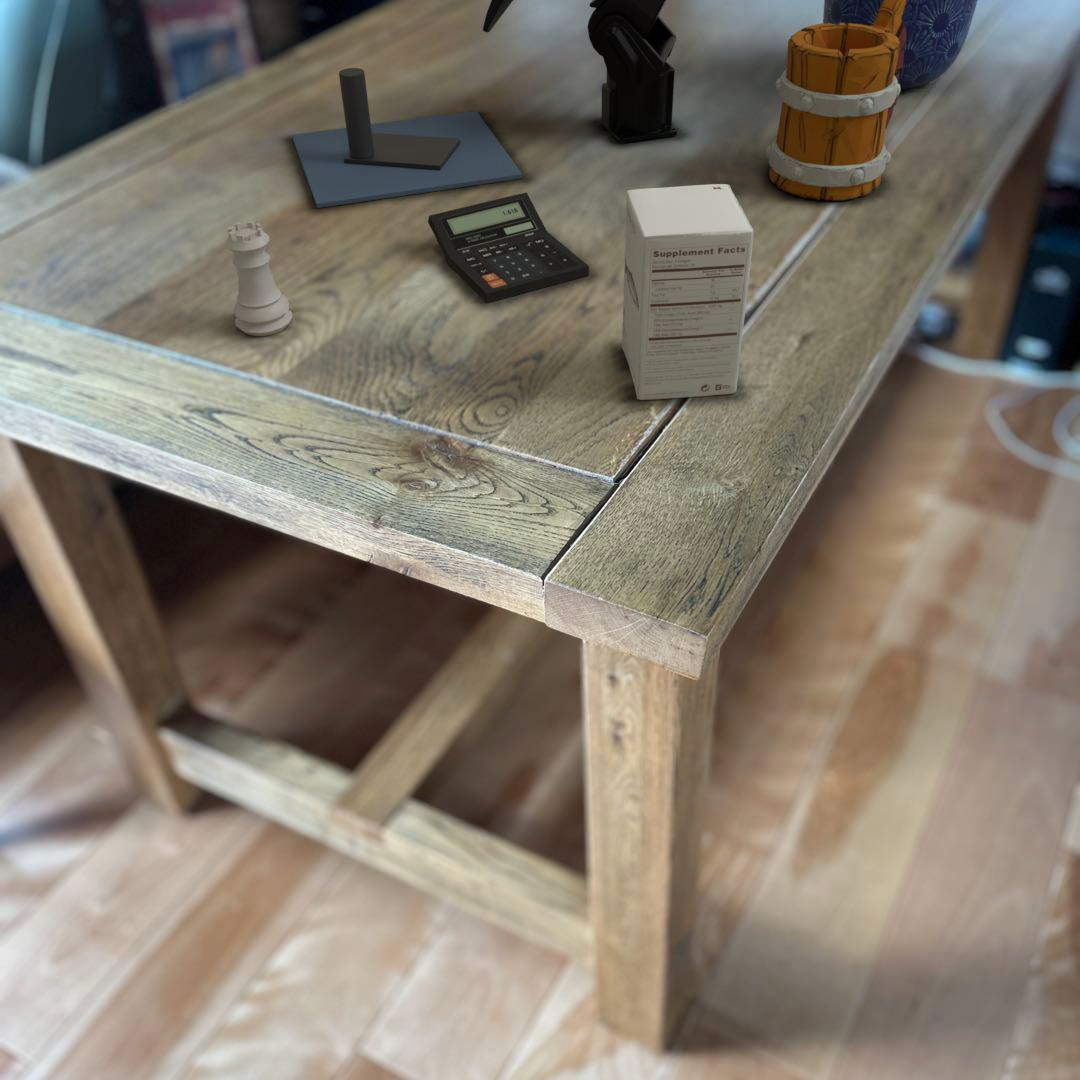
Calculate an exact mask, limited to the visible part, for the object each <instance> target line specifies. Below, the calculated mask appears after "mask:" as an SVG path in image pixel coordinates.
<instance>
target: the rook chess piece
mask: <svg viewBox="0 0 1080 1080" xmlns="http://www.w3.org/2000/svg"><path fill="white" fill-rule="evenodd" d="M246 225H247V226H246V227H243V223H242V222H241V221H238V222H236V223H234V226H229V227H228V228H227V233H228V236H227V238H226V240H225V242H224V243H225V247H227V249H229V250H230V251H231V252H232V253H233V255H234V257H233V258H232V264H233V265H234V266H235V268H236V271H237V277H238V294H237V295H236V302H235V303H234V305H233V314H234V316H235V317H236V318H235V319H234V320H235V321H234V322H235V326H236V327H237V328H238V329H239V330H241V331H242V332H243V333H245V334H246V335H249V336H251V337H265V336H266V337H267V336H272V335H276V334H278V333H280V332H282V331H283V330H285V329H286V328H287V327H288V325H290V323H291V320H292V319H293V313H292V311H291V310H290V302H289V300H288V298H287V297H286V296H285V295H284V294H282V290H281V289H280V288H278V287H277V283H276V282H275V279H274V276H273V274H272V271H271V268H270V264H269V262H270V260H271V255H270V254H269V253H268V252H267V250H266V248H267V247H268V244H269V242H270V239H271V238H270V235H268V234H267V233H266V232H265V231H264V229H263V225H262V224H261V223H260V222H257V223H255V221H253V220H248V221H246ZM234 227H235V228H234Z"/></svg>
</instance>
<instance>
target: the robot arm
mask: <svg viewBox="0 0 1080 1080" xmlns="http://www.w3.org/2000/svg"><path fill="white" fill-rule="evenodd" d="M513 1H514V0H491V1H490V2H489V3H490V4H489V6H488V9H487V10H486V11H487V12H486V15H485V18H484V23H483V27H482V31H483V32H485V33H490V32H491V30H492V29H493V28H494V26H495V25H496V24H497V22H498V21H499V20H500V18H502V16H503V15H504V13H505V12H506V10H507V9H508V8H509V7H510V6H511V4H512V3H513ZM666 2H667V0H591V2H590V3H589V7H590V8H594V10H593V12H592V13H591V15H590V17H589V19H588V23H587V33H588V40H589V41H590V44H591V46H592V48H593V49H594V51H596V52H597V54H599V56H601V57H602V59H603V63H604V65H605V68H606V82H603V83H602V85H601V112H600V113H601V114H600V115H601V117H600V124H602V126H603V127H604V128H605V129H606V130H607V131H608V132H609V133H610V134H611V136H613V137H614V138H615V139H616V140H617V141H618V142H619V143H628V142H636V141H642V140H643V141H644V140H650V139H651V140H652V139H658V138H665V137H671V136H676V135H678V133H679V129H678V128H677V127H676V126H675V125H674V124H673V112H674V111H673V109H674V108H673V107H674V92H675V91H674V90H675V73H676V71H675V70H676V69H675V67H673V66H672V65H671V64H669V63H668V62H667V60H668V58H669V57H670V56H671V54H672V51H673V48H674V46H675V43H676V41H677V36H676V34H675V33H674V32H673V31H672V30H671V28H670V27H669V26H668V25H667V23H665V22H664V20H663V19H662V18H661V17H660V14H661V12H662V9H663V7H664V6H665V4H666Z"/></svg>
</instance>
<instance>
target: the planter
mask: <svg viewBox="0 0 1080 1080" xmlns="http://www.w3.org/2000/svg"><path fill="white" fill-rule="evenodd" d="M978 1H979V0H907V1H906V5H905V9H904V12H903V15H902V17H901V18H902V19H903V22H904V26H905V30H906V42H905V45H904V59H903V68H902V69H900V73H899V78H898V81H900V89H901V90H904V89H905V90H906V89H912V88H917V87H921V86H924V85H927V84H929V83H931V82H933V81H935V80H937V79H938V78H939V77H940V76H942V75H943V74H944V73H946V71H948V70H949V69H950V67H952V65H953V64H954V62H955V61H956V59H957V58H958V56H959V54H960V53H961V51H962V49H963V47H964V45H965V42H966V40H967V37H968V35H969V31H970V28H971V26H972V21H973V19H974V14H975V11H976V8H977V4H978ZM882 2H883V0H824V2H823V14H822V15H823V16H822V17H823V18H822V23H832V24H835V25H837V24H839V23H840V22H841V23H845V24H847V23H853V24H861V25H867V26H871V27H872V26H873V24H874V21H875V18H876V16H877V13H878V11H879V8H880V6H881V4H882Z"/></svg>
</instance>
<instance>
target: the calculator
mask: <svg viewBox="0 0 1080 1080" xmlns="http://www.w3.org/2000/svg"><path fill="white" fill-rule="evenodd" d="M427 223H428V225H429V227H430V229H431V231H432V233H433V235H434V237H435V239H436V241H437V243H438V246H439V247H440V249H441V251H442V253H443V255H444V257H445V259H446V261H447V263H448V266H449V267H450V268H451V269H452V270H453V271H454V272H455V273H456V274H457V275H459V277H460V278H461V279H462V280H463V281H464V282H465V283H466V284H467V285H469V287H470V288H471V289H473V291H474V292H476V294H477V295H478V296H479V297H480V298H481V299H482V300H483V301H484V302H485V303H486V304H489V303H493V302H497V301H500V300H503V299H507V298H511V297H515V296H519V295H522V294H526V293H529V292H534V291H537V290H540V289H544V288H548V287H552V286H555V285H559V284H562V283H566V282H569V281H573V280H577V279H580V278H585V277H589V275H590V266H589V265H588V264H587V263H586V262H585V261H584V260H582V258H580V257H579V256H578V255H576V254H575V253H574V252H572V250H570V249H569V248H568V247H566V246H565V244H563V243H562V242H560V240H558V239H557V238H556V237H555V236H553V235H552V234H551V233H550V232H548V230H547V228H546V227H545V224H544V222H543V221H542V218H541V217H540V215H539V213H538V211H537V210H536V208H535V205H534V203H533V202H532V200H531V198H530V196H529V194H528V191H527V192H522V193H518V194H514V195H509V196H505V197H501V198H496V199H493V200H488V201H484V202H480V203H477V204H476V203H475V204H471V205H468V206H467V205H466V206H464V207H460V208H459V207H458V208H455V209H451V210H447V211H443V212H439V213H435V214H429V215H428V219H427Z"/></svg>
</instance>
